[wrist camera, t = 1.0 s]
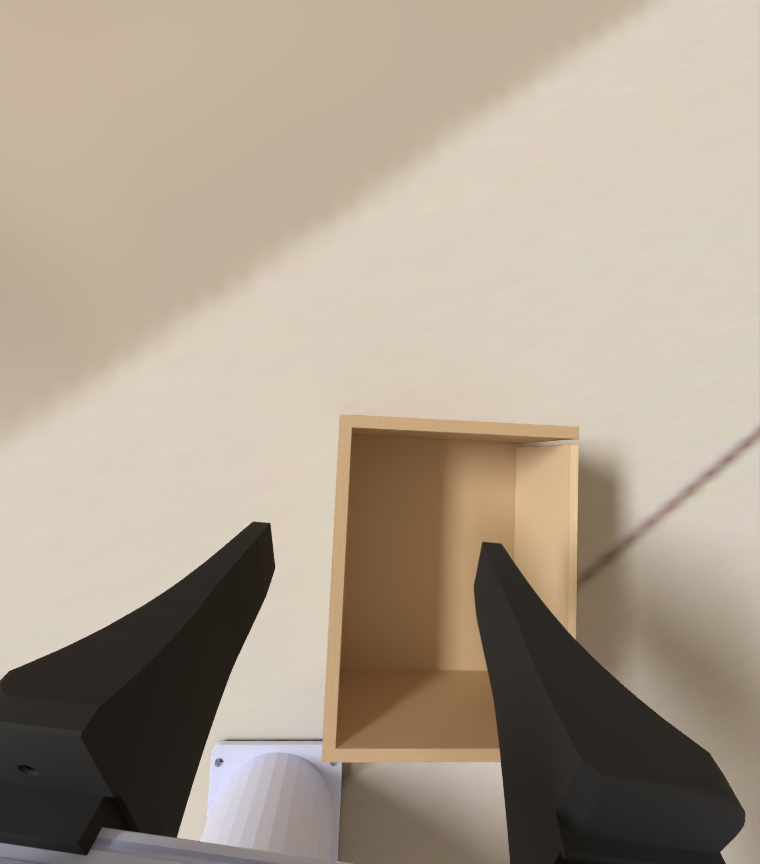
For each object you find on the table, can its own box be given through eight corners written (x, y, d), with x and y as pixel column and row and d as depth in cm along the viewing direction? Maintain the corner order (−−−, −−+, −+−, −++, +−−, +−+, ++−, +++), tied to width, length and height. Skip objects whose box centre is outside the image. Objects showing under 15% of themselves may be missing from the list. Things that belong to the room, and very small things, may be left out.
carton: (512, 675, 25) (575, 761, 18) (331, 673, 25) (321, 762, 17) (518, 434, 26) (579, 427, 19) (344, 425, 26) (339, 414, 18)
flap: (517, 666, 25) (574, 741, 18) (511, 666, 25) (566, 740, 18) (522, 447, 26) (578, 444, 19) (516, 447, 26) (570, 444, 19)
